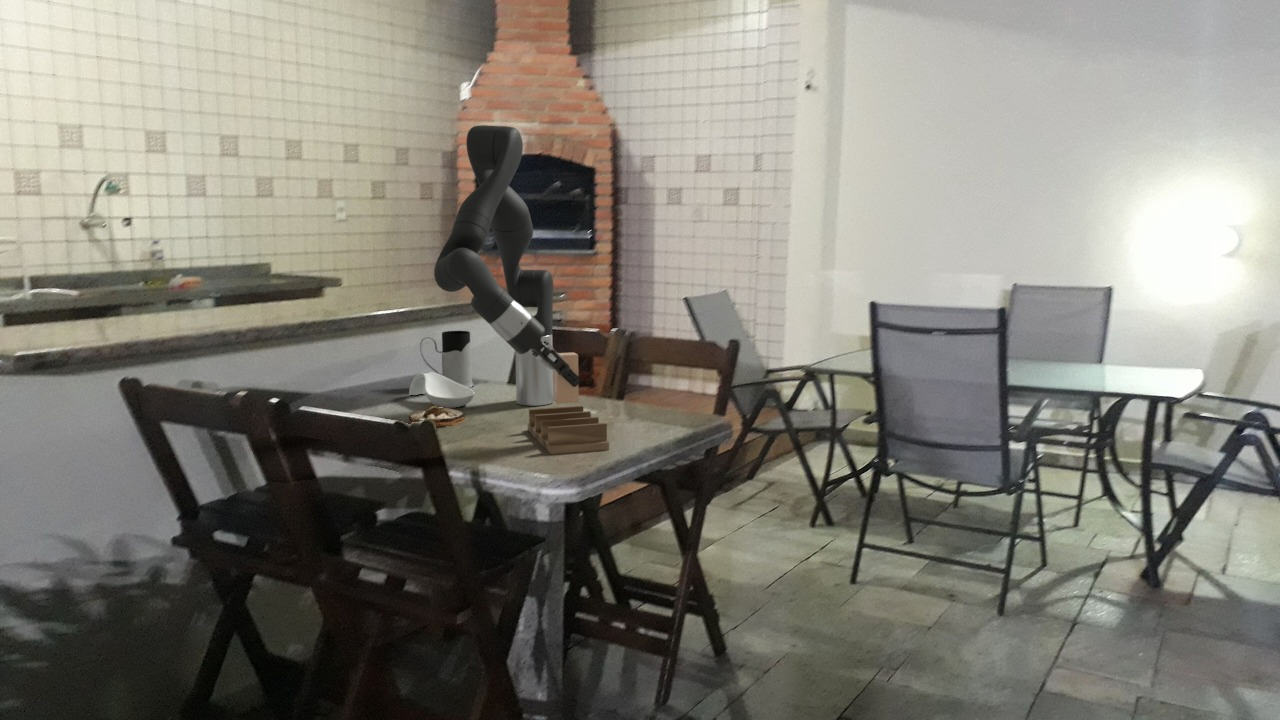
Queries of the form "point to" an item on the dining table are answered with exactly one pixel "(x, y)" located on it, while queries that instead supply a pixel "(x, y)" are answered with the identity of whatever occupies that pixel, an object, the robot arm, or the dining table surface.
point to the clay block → (561, 386)
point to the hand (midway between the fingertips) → (575, 381)
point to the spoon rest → (441, 390)
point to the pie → (438, 416)
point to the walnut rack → (567, 430)
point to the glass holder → (455, 356)
